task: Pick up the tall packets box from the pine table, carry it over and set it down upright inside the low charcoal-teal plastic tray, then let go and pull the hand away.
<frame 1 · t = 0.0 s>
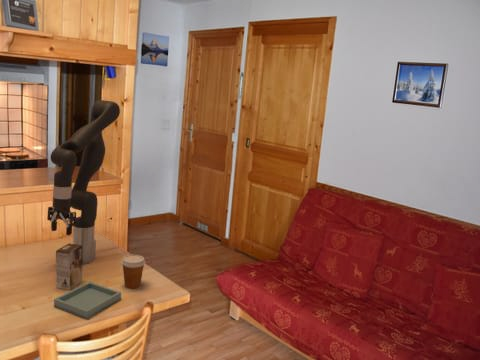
hand: (61, 232, 189), 17 cm above the table, tool pointing down, fingers open, 8 cm apart
coffee box: (69, 284, 181), on the table
disposable coffee cup: (132, 285, 185), on the table
tray: (88, 302, 168), on the table
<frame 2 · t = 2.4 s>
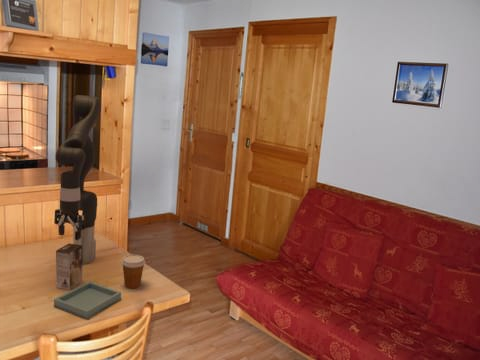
hand: (69, 237, 177), 20 cm above the table, tool pointing down, fingers open, 8 cm apart
nothing on the table moved.
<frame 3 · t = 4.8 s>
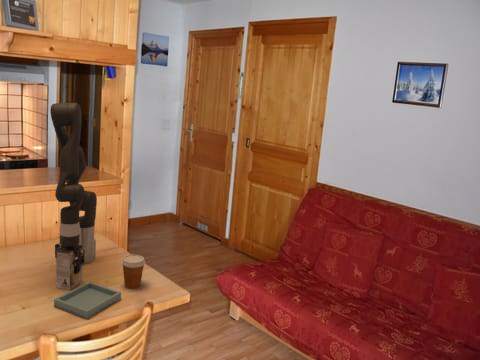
hand: (69, 271, 180), 6 cm above the table, tool pointing down, fingers closed on coffee box, 7 cm apart
coffee box: (69, 284, 181), on the table, touching gripper
everything else where it was.
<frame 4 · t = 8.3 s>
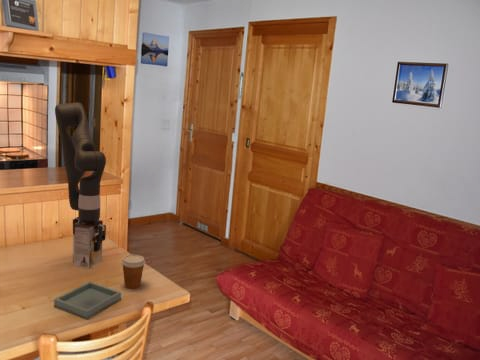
hand: (88, 248, 163), 22 cm above the table, tool pointing down, fingers closed on coffee box, 7 cm apart
coffee box: (88, 264, 164), point 16 cm above the table, touching gripper
everything else where it was.
when the fingers open (9 cm above the table, at t = 11.8 s): coffee box drops 2 cm, resting on tray.
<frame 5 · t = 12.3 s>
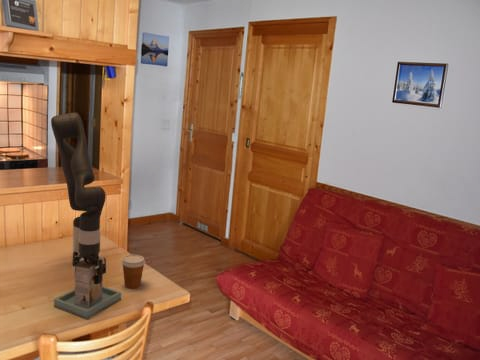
hand: (88, 280, 166), 9 cm above the table, tool pointing down, fingers open, 8 cm apart
coffee box: (88, 301, 168), point 1 cm above the table, touching tray
everything else where it was.
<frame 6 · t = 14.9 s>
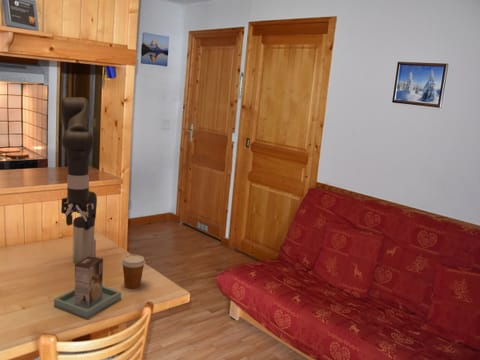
hand: (78, 227, 166), 28 cm above the table, tool pointing down, fingers open, 8 cm apart
nothing on the table moved.
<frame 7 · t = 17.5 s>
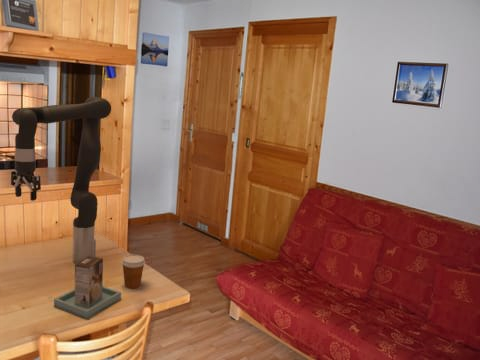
hand: (25, 198, 180), 33 cm above the table, tool pointing down, fingers open, 8 cm apart
nothing on the table moved.
at the end: coffee box inside the target area on the tray (0.2 cm from its centre), point 0.8 cm above the tray's base; coffee box tilted 0°; the gripper is holding nothing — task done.
